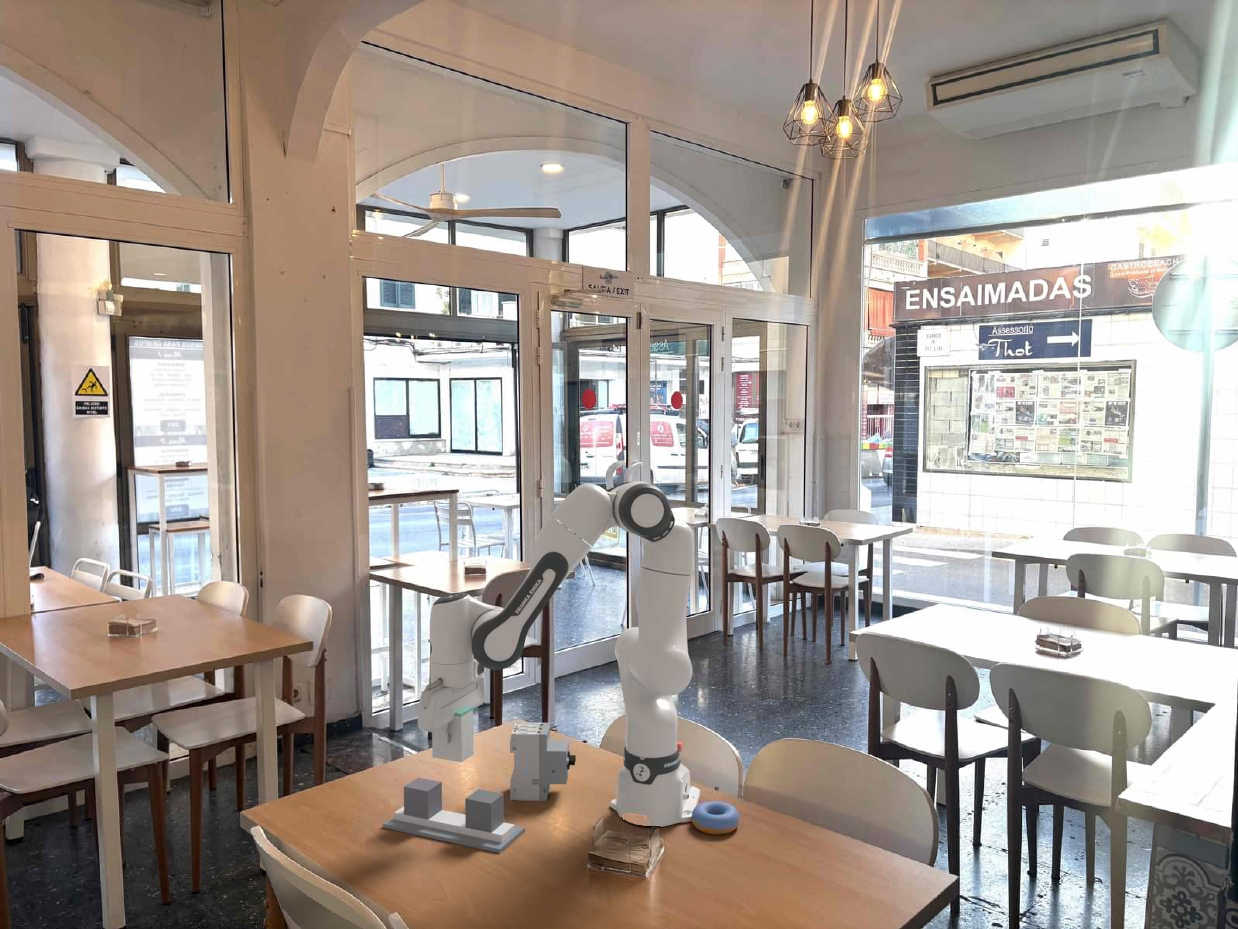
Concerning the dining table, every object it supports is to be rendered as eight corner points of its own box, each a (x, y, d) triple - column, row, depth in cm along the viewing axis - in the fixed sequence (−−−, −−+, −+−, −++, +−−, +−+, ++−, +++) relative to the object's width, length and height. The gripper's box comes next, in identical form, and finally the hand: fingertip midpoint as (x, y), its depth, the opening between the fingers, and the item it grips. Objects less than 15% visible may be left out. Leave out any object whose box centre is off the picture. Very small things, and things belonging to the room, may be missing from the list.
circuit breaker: (574, 801, 198) (574, 734, 197) (510, 800, 198) (509, 734, 197) (576, 786, 205) (576, 723, 204) (514, 786, 205) (514, 722, 205)
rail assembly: (411, 808, 194) (411, 770, 193) (524, 831, 183) (524, 792, 183) (382, 827, 185) (382, 788, 184) (500, 853, 174) (499, 811, 173)
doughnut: (734, 839, 179) (733, 816, 180) (686, 834, 182) (685, 811, 183) (743, 823, 189) (743, 801, 189) (698, 818, 192) (697, 797, 192)
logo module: (444, 749, 187) (444, 703, 186) (473, 754, 184) (472, 707, 184) (432, 757, 183) (431, 709, 182) (461, 762, 180) (461, 713, 180)
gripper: (436, 689, 172) (437, 759, 172) (490, 661, 191) (491, 724, 191) (409, 685, 174) (410, 754, 175) (465, 658, 193) (465, 721, 194)
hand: (453, 738), depth 183 cm, fingers closed on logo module, 4 cm apart
